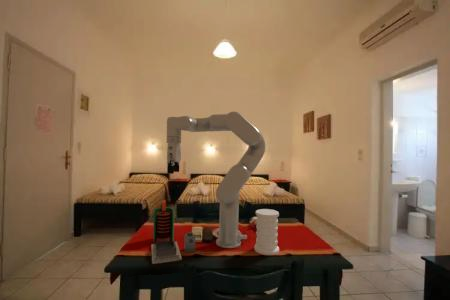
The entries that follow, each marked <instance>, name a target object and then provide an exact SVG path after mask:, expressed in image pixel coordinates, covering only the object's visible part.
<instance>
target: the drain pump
mask: <svg viewBox="0 0 450 300" xmlns="http://www.w3.org/2000/svg"><path fill="white" fill-rule="evenodd" d="M183 241H184V246H183V250H184V252H186V253H193V252H195V251H196V233H194V232H192V231H188V232H187V233H186V234H185V233H184V240H183Z"/></svg>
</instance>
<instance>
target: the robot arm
mask: <svg viewBox="0 0 450 300" xmlns="http://www.w3.org/2000/svg"><path fill="white" fill-rule="evenodd" d="M182 131H184V132H190V133H196V132H197V133H200V132H201V133H203V132H205V133H206V132H211V133H212V132H232V133H233V134H234V135H235V136H236V137H238V139H240V140H241V141H242V142H243V143H244V144H245V145H247V147H248V148H247V150H246V151H245V152H244V154H243V155H242V157H240V159H239V161H238V162H237V163H236V164H234V165H233V166H232V167H230V169H229V170H228V171H227V173H226V174H225V175H224V177H223V178H222V180H221V182H220V183H219V184H218V186H217V187H216V190H215V198H216V200H217V201H218V202H219V220H218V221H219V228H218V229H219V230H218V231H219V232H218V233H219V235H218V236H219V237H218V238H216V240H215V244H216V246H218V247H219V248H224V249H234V248H238V247H240V246H241V244H242V241H241V240H246V239H248V235H247V234H243V233H239V212H240V211H239V209H240V207H239V206H240V193H241V190H242V189H243V188H244V186H245V185H246V183H247V182H248V181H249V180H250V178H251V175H252V174H253V172H254V171H255V169H257V167H258V165H259V164H260V162H261V160H262V158H263V157H264V155H265V152H266V141H265V138H264V136H263V134H262V133H261V131H260V130H258V129H257V127H255V126H254V125H253V124H252V123H250V121H248V120H247V119H246V118H245V117H244V116H243V115H242V114H241V113H240V112H237V111H230V112H228V113H223V114H222V113H221V114H216V113H215V114H211V115H209V116H208V117H202V118H199V117H198V118H193V117H191V116H188V115H183V116H169V117H167V119H166V144H167V148H166V160H167V161H166V166H167V167H166V168H167V170H166V171H167V173H166V174H167V175H169V174H170V175H172V174H174V173H179V172H180V162H181V160H182V151H181V144H182Z"/></svg>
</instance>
